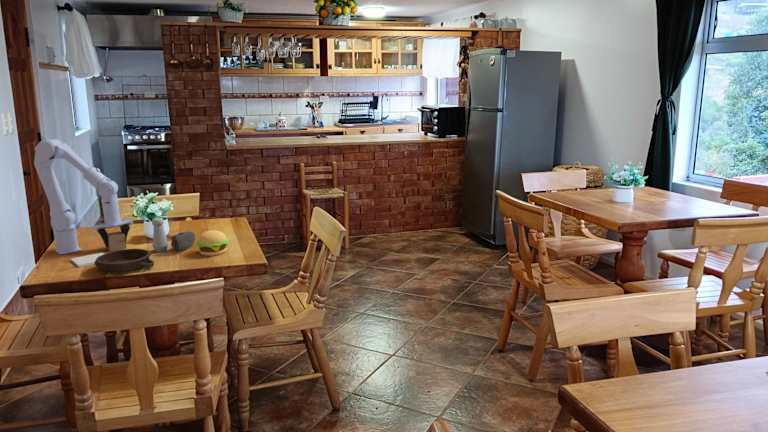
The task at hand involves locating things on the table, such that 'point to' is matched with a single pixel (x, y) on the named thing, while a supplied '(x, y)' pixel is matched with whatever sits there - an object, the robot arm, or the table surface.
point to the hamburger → (212, 243)
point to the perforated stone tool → (182, 241)
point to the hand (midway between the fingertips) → (115, 245)
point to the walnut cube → (116, 241)
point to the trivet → (86, 260)
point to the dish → (124, 261)
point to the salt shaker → (159, 235)
